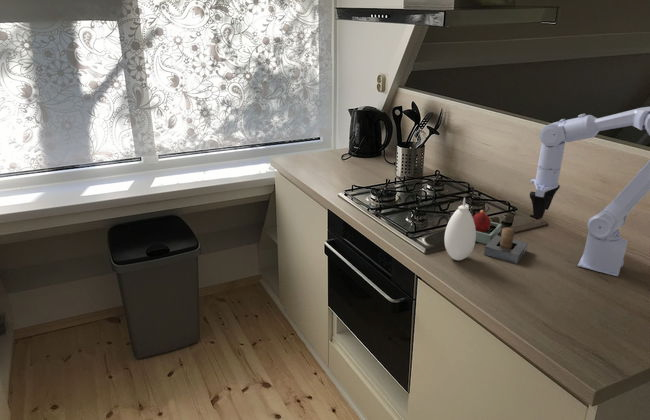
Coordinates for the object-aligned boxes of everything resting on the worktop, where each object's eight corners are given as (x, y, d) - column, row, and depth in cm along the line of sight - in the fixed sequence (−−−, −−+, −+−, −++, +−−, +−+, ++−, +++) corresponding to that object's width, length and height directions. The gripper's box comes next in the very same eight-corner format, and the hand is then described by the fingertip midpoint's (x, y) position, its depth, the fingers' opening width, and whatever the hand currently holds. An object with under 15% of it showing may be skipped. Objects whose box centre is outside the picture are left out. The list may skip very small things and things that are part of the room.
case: (500, 233, 154) (501, 224, 153) (489, 245, 146) (490, 235, 145) (469, 225, 159) (470, 216, 158) (457, 236, 152) (458, 227, 150)
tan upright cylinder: (501, 249, 144) (504, 226, 142) (512, 252, 142) (516, 229, 140) (497, 253, 142) (500, 230, 139) (508, 256, 140) (512, 233, 137)
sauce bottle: (459, 250, 144) (466, 190, 137) (478, 262, 137) (486, 199, 130) (437, 255, 140) (443, 194, 133) (455, 268, 134) (462, 204, 127)
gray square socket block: (526, 251, 143) (527, 243, 142) (517, 263, 136) (518, 255, 135) (494, 242, 148) (495, 234, 147) (484, 254, 141) (485, 246, 140)
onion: (489, 240, 149) (493, 215, 146) (469, 238, 151) (472, 213, 147) (488, 231, 155) (491, 207, 152) (468, 230, 156) (471, 205, 153)
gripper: (539, 157, 145) (532, 202, 151) (527, 171, 134) (519, 218, 139) (566, 162, 142) (557, 207, 147) (555, 176, 131) (546, 224, 136)
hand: (541, 213), depth 143 cm, fingers open, 7 cm apart
